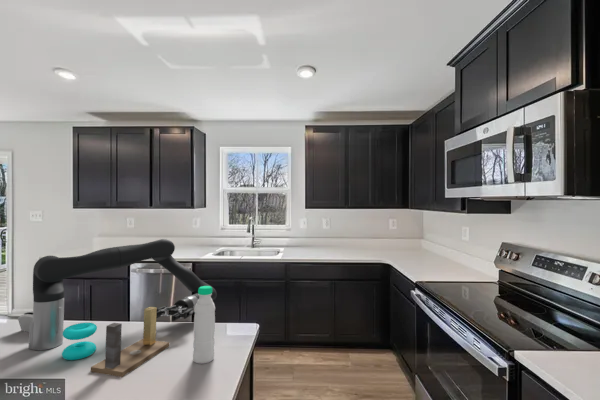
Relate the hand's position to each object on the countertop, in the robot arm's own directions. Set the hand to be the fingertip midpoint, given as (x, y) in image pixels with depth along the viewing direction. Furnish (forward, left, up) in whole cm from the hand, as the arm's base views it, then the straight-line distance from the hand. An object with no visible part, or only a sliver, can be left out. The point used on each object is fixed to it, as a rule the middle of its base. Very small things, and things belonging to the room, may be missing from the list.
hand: (163, 317), depth 127 cm
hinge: (-53, +12, -9) cm, 55 cm away
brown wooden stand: (-5, -14, -9) cm, 17 cm away
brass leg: (-3, -7, -7) cm, 11 cm away
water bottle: (+19, -18, -9) cm, 28 cm away
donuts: (-25, -11, -9) cm, 29 cm away
